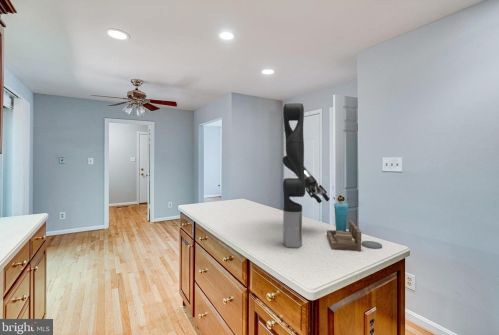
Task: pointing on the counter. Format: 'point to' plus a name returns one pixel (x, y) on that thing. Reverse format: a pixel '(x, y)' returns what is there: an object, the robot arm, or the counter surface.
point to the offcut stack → (343, 237)
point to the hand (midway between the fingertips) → (324, 201)
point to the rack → (346, 246)
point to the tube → (341, 217)
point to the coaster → (372, 244)
